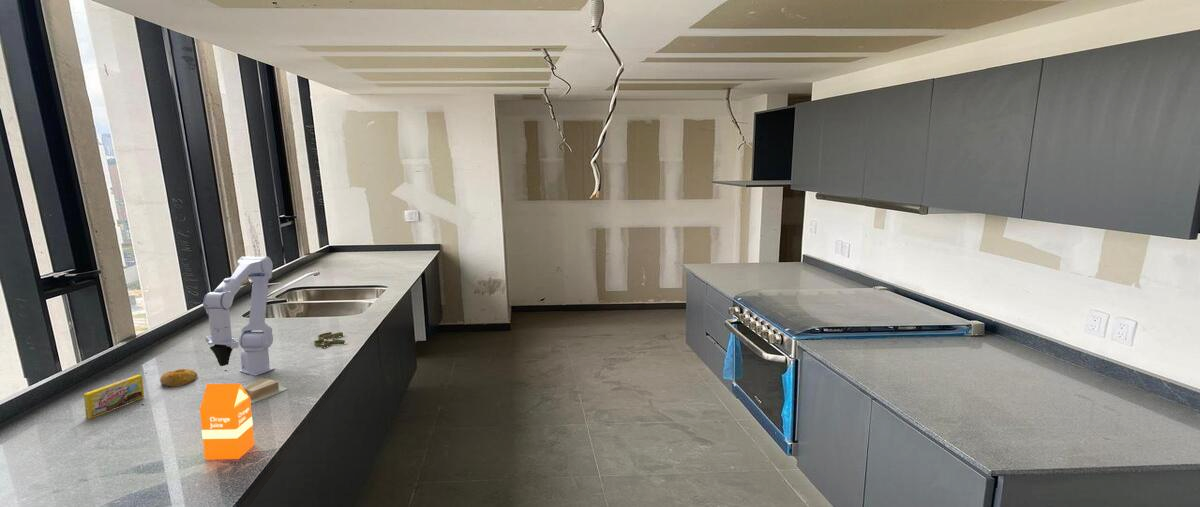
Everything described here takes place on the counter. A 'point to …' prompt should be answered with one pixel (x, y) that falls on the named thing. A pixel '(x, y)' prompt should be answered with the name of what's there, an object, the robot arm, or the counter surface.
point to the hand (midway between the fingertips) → (224, 364)
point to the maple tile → (261, 388)
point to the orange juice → (226, 421)
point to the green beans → (326, 336)
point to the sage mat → (268, 395)
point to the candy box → (113, 396)
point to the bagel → (178, 377)
